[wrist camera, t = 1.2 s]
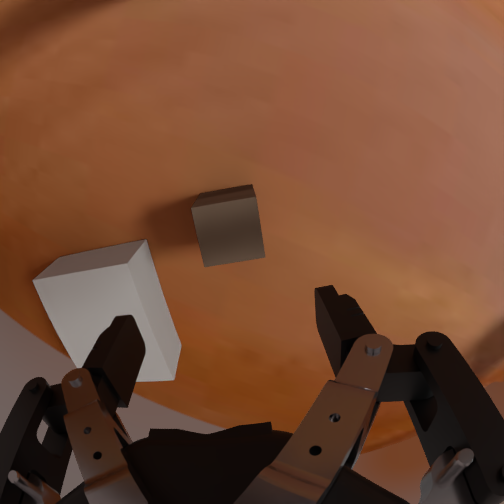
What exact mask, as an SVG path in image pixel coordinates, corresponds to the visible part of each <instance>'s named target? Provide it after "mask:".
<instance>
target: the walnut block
mask: <svg viewBox="0 0 504 504" xmlns="http://www.w3.org/2000/svg"><path fill="white" fill-rule="evenodd" d="M191 211H192V215H193V220H194V224H195V229H196V233H197V238H198V242H199V246H200V250H201V255H202V259H203V263H204V267H209V266H215V265H221V264H228V263H234V262H240V261H246V260H252V259H258V258H265V252H264V245H263V238H262V232H261V225H260V219H259V212H258V206H257V200H256V195H255V192H254V189H253V185H252V184H251V185H245V186H239V187H233V188H227V189H222V190H216V191H211V192H205V193H200V195H199V196H198V198H197V199H196V201H195V203H194V204H193V206H192V207H191Z"/></svg>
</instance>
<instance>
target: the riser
mask: <svg viewBox="0 0 504 504" xmlns="http://www.w3.org/2000/svg"><path fill="white" fill-rule="evenodd" d="M32 281H33V283H34V285H35V288H36V290H37V292H38V295H39V297H40V299H41V301H42V303H43V306H44V308H45V310H46V312H47V314H48V316H49V318H50V320H51V322H52V324H53V326H54V328H55V330H56V332H57V334H58V335H59V337H60V339H61V341H62V343H63V345H64V346H65V348H66V350H67V352H68V353H69V355H70V357H71V358H72V360H73V362H74V363H75V365H76V366H77V368H82V366H83V364H84V362H85V360H86V359H87V357H88V355H89V353H90V351H91V349H93V346H94V344H95V343H96V341H97V339H98V337H99V335H100V334H101V333H102V332H103V331H104V330H105V329H106V328H107V327H109V326H110V324H111V323H112V321H113V319H114V318H115V316H120V315H132V316H133V317H134V319H135V321H136V323H137V326H138V328H139V330H140V333H141V335H142V337H143V340H144V342H145V347H146V353H145V357H144V360H143V362H142V365H141V368H140V371H139V374H138V377H137V380H136V382H142V381H168V380H174V378H175V373H176V369H177V364H178V359H179V355H180V350H181V343H180V340H179V338H178V335H177V332H176V329H175V327H174V324H173V321H172V318H171V316H170V313H169V310H168V307H167V304H166V301H165V298H164V295H163V292H162V289H161V286H160V283H159V280H158V276H157V273H156V270H155V267H154V263H153V260H152V257H151V253H150V250H149V246H148V243H147V239H145V240H140V241H134V242H129V243H124V244H119V245H114V246H110V247H105V248H100V249H95V250H90V251H86V252H81V253H76V254H72V255H67V256H63V257H59V258H58V259H56V260H55V261H54V262H53V263H52V264H50V265H49V266H48V267H47V268H46V269H45V270H44V271H42V272H41V273H40V274H39V275H38V276H37V277H36V278H34V279H33V280H32Z"/></svg>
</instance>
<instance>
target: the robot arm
mask: <svg viewBox="0 0 504 504" xmlns="http://www.w3.org/2000/svg"><path fill="white" fill-rule="evenodd" d="M315 309H316V323H317V328H318V332H319V335H320V337H321V340H322V342H323V345H324V348H325V350H326V353H327V356H328V358H329V361H330V364H331V366H332V369H333V372H334V374H335V377H336V378H335V380H334V381H333V380H328V381H327V383H326V384H325V385H324V387H323V389H322V390H321V392H320V394H319V395H318V397H317V398H316V400H315V402H314V403H313V405H312V406H311V408H310V410H309V411H308V413H307V414H306V416H305V417H304V419H303V420H302V422H301V423H300V425H299V426H298V428H297V429H296V431H295V432H294V434H293V433H289V432H284V431H278V430H272V425H271V422H265V423H257V424H249V425H239V426H236V427H233V428H229V429H226V430H223V431H219V432H215V433H211V434H200V433H195V432H190V431H185V430H180V429H150V432H149V436H148V437H147V438H143V439H140V440H138V441H135V442H133V441H132V440H131V438H130V436H129V434H128V432H127V431H126V429H125V427H124V425H123V423H122V421H121V419H120V417H119V416H118V414H117V413H116V409H117V407H124V408H127V407H128V405H129V401H130V398H131V395H132V392H133V389H134V386H135V383H136V380H137V377H138V374H139V371H140V368H141V365H142V362H143V360H144V357H145V353H146V347H145V342H144V340H143V337H142V335H141V333H140V330H139V328H138V326H137V323H136V321H135V319H134V317H133V316H132V315H120V316H115V318H114V319H113V321H112V323H111V324H110V326H109V327H107V328H106V329H105V330H104V331H103V332H102V333H101V334H100V335H99V337H98V339H97V341H96V343H95V344H94V346H93V349H91V351H90V353H89V355H88V357H87V359H86V360H85V362H84V364H83V366H82V368H77V369H74V370H72V371H70V372H68V373H67V374H66V375H65V376H64V378H63V379H62V383H61V384H56V385H52V386H49V384H48V383H47V381H46V380H45V379H44V378H42V377H37V378H34V379H32V380H30V381H29V382H28V383H27V384H26V385H25V386H24V388H23V390H22V392H21V394H20V395H19V397H18V399H17V401H16V403H15V405H14V407H13V408H12V410H11V412H10V414H9V416H8V418H7V420H6V422H5V425H4V427H3V429H2V431H1V433H0V504H410V503H408V502H407V501H406V500H404V499H402V498H400V497H399V496H397V495H395V494H393V493H391V492H389V491H387V490H386V489H384V488H382V487H380V486H379V485H377V484H375V483H373V482H372V481H370V480H368V479H366V478H365V477H363V476H361V475H360V474H358V473H357V472H355V471H353V470H352V469H353V467H354V465H355V463H356V461H357V459H358V457H359V454H360V452H361V450H362V447H363V445H364V442H365V440H366V437H367V435H368V433H369V431H370V428H371V426H372V424H373V421H374V419H375V416H376V414H377V412H378V409H379V407H380V404H381V402H391V401H404V404H405V406H406V408H407V410H408V413H409V415H410V417H411V420H412V422H413V425H414V427H415V430H416V432H417V434H418V437H419V439H420V442H421V444H422V447H423V450H424V452H425V455H426V457H427V460H428V463H429V465H430V468H429V470H428V471H427V472H426V473H425V475H424V476H423V478H422V480H421V485H420V490H421V498H420V501H419V503H418V504H499V503H501V502H502V501H504V419H503V418H502V416H501V414H500V413H499V411H498V409H497V408H496V406H495V404H494V403H493V401H492V400H491V398H490V396H489V395H488V393H487V392H486V390H485V389H484V387H483V386H482V384H481V383H480V381H479V380H478V378H477V377H476V375H475V374H474V372H473V371H472V369H471V368H470V366H469V365H468V364H467V362H466V361H465V359H464V358H463V357H462V355H461V354H460V352H459V351H458V350H457V348H456V347H455V346H454V344H453V343H452V341H451V340H450V339H449V338H448V337H447V336H446V335H444V334H442V333H439V332H425V333H423V334H421V335H420V336H419V337H418V338H417V339H416V343H415V344H413V345H394V344H392V342H391V341H390V339H388V338H387V337H385V336H383V335H380V334H377V333H376V331H375V330H374V328H373V327H372V325H371V324H370V322H369V320H368V319H367V317H366V316H365V314H364V313H363V311H362V309H361V308H360V306H359V305H358V303H357V302H356V300H355V299H354V298H352V297H350V296H349V295H347V294H343V295H338V293H337V292H336V290H335V288H334V287H333V285H329V286H323V287H318V288H315ZM42 419H43V421H44V422H45V423H46V424H47V425H48V426H49V427H48V430H47V432H46V435H45V437H44V440H43V442H42V445H41V444H40V443H39V441H38V439H37V429H38V427H39V425H40V423H41V420H42ZM72 449H73V452H74V455H75V458H76V460H77V463H78V466H79V469H80V471H81V474H82V477H83V479H84V482H82V483H81V484H80V485H79V486H77V487H76V488H75V489H73V490H72V491H71V492H70V493H68V494H67V495H66V496H64V497H63V498H62V499H61V498H60V493H61V489H62V485H63V481H64V477H65V474H66V470H67V466H68V463H69V459H70V456H71V452H72Z"/></svg>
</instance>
